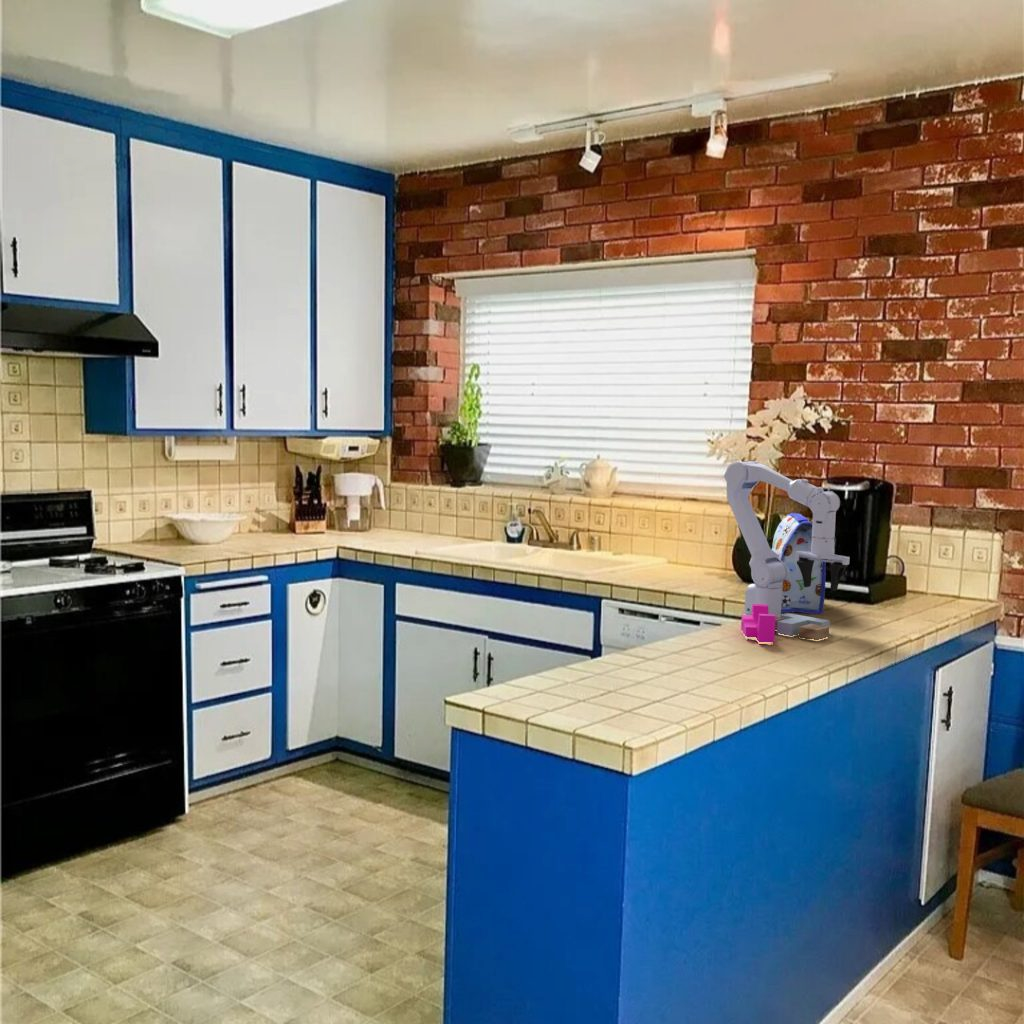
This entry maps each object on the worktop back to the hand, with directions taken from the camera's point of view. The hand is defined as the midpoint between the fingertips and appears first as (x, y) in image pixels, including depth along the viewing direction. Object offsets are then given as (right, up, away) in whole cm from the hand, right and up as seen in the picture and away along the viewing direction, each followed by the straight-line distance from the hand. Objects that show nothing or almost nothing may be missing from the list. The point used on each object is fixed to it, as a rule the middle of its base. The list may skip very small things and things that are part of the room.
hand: (820, 588), depth 273 cm
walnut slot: (-10, -11, -9) cm, 17 cm away
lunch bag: (+2, -8, +30) cm, 31 cm away
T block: (-8, -11, -7) cm, 15 cm away
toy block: (-20, -12, -14) cm, 27 cm away
